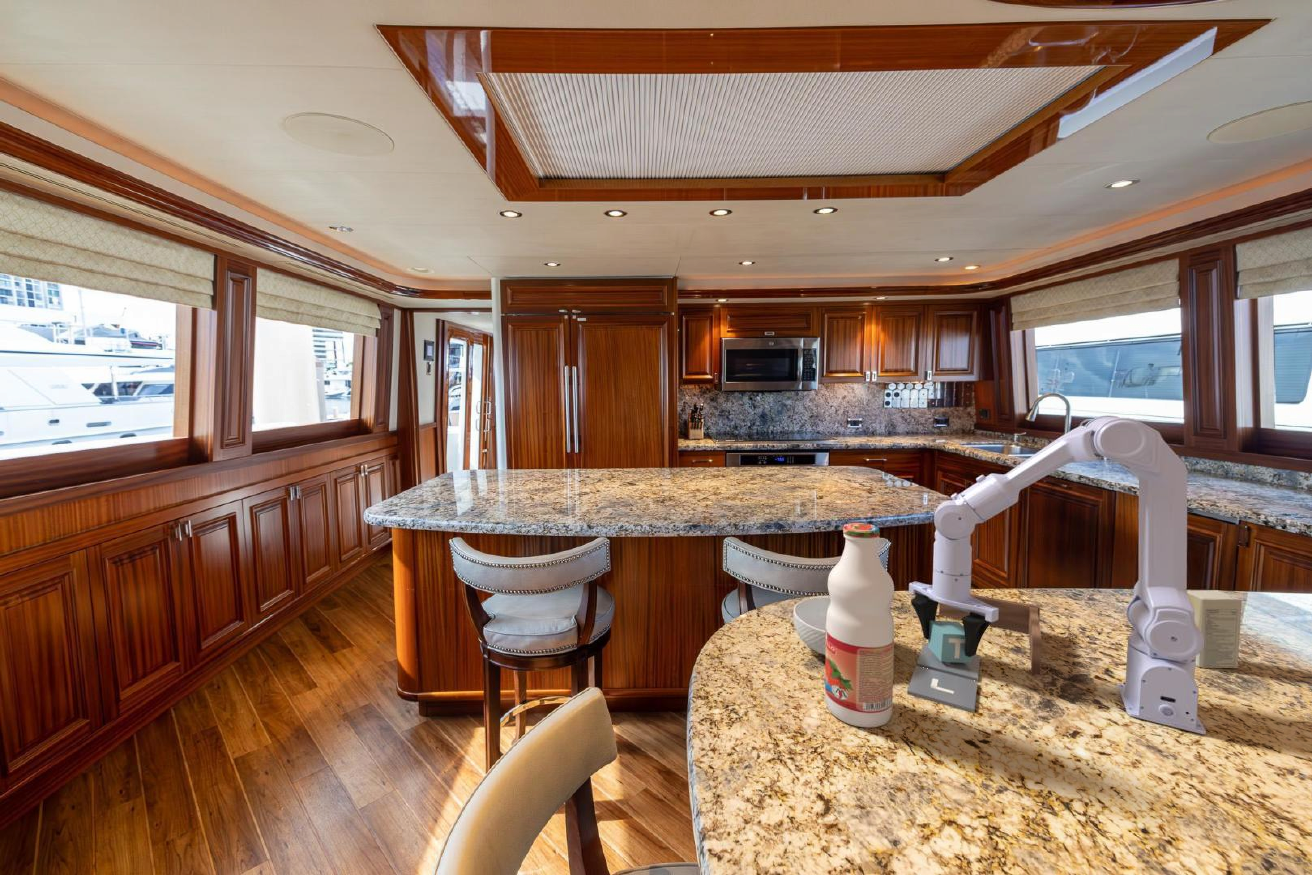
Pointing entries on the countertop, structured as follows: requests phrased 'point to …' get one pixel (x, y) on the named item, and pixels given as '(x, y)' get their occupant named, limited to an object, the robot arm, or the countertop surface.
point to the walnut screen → (1010, 623)
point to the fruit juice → (860, 632)
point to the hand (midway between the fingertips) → (949, 646)
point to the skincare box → (1217, 627)
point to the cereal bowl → (812, 622)
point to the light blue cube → (948, 641)
